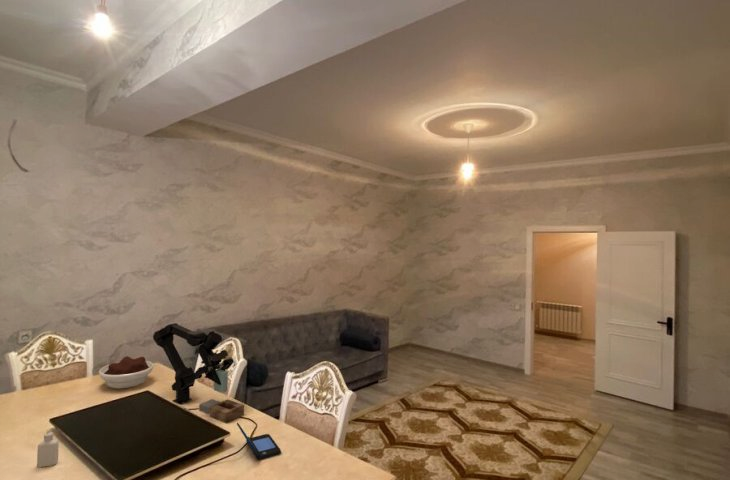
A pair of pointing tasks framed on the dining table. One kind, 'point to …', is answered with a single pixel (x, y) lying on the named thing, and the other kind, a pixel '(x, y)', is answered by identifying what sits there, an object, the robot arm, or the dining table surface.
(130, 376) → the bowl of chocolate mousse
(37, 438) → the dining table surface
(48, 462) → the eye dropper bottle
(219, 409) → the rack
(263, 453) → the handheld game console
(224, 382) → the block
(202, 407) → the plate
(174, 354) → the robot arm
